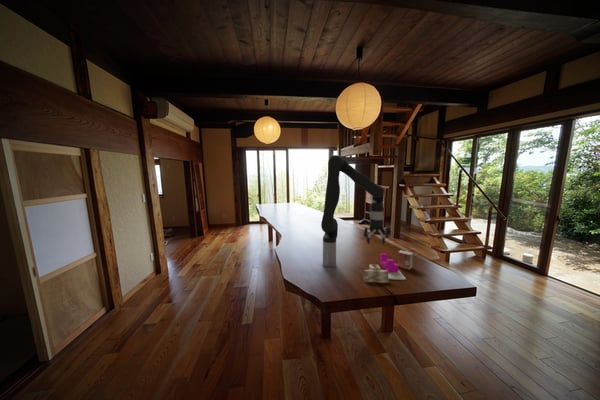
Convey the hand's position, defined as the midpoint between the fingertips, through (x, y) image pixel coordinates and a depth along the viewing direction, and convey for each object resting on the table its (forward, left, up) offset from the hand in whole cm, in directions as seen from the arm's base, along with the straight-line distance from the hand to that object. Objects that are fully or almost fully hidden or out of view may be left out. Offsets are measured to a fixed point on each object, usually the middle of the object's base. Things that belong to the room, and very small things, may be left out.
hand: (375, 243), depth 130 cm
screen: (-1, -8, -20) cm, 22 cm away
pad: (+11, -1, -20) cm, 23 cm away
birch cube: (0, -1, -20) cm, 20 cm away
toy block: (+11, +9, -20) cm, 24 cm away
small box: (+23, +12, -20) cm, 33 cm away
